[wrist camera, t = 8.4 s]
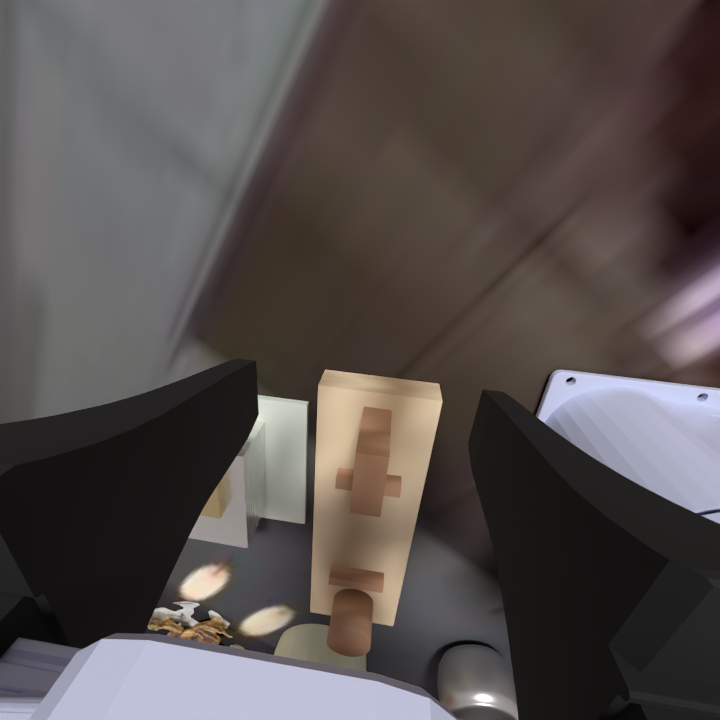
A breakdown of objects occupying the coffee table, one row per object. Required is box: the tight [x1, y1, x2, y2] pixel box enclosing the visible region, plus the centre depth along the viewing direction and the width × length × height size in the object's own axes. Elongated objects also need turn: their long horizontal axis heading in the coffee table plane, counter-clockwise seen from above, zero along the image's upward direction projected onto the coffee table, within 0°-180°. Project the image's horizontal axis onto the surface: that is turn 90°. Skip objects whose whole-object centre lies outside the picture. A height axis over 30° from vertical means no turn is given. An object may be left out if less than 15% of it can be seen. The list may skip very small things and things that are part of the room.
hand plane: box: [310, 370, 442, 657], centre depth 23 cm, size 7×22×6 cm, turn 175°
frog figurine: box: [148, 601, 245, 650], centre depth 35 cm, size 12×12×4 cm
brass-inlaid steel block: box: [188, 420, 266, 548], centre depth 23 cm, size 5×8×4 cm, turn 174°
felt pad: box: [256, 395, 309, 524], centre depth 25 cm, size 8×11×1 cm
